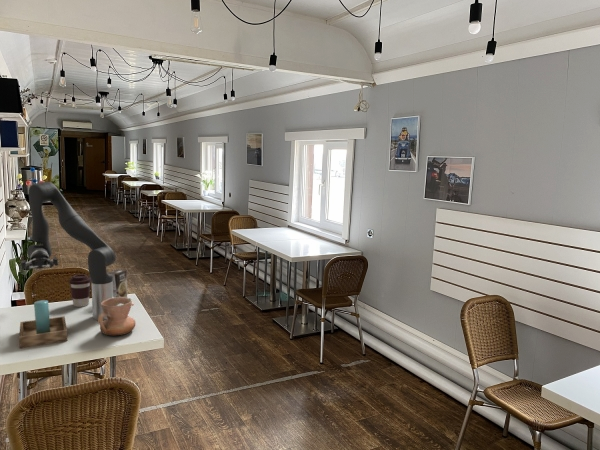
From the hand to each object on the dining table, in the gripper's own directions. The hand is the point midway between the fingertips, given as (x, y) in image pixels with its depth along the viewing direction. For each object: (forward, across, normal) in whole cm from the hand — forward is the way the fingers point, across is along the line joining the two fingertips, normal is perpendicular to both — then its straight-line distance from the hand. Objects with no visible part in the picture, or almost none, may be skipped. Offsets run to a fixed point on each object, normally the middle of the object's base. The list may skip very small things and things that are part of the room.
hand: (39, 266), depth 202 cm
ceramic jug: (+19, +28, +29) cm, 44 cm away
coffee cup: (-25, +16, +28) cm, 41 cm away
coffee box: (-23, +33, +28) cm, 50 cm away
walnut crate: (+11, 0, +28) cm, 30 cm away
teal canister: (+11, -1, +27) cm, 29 cm away
